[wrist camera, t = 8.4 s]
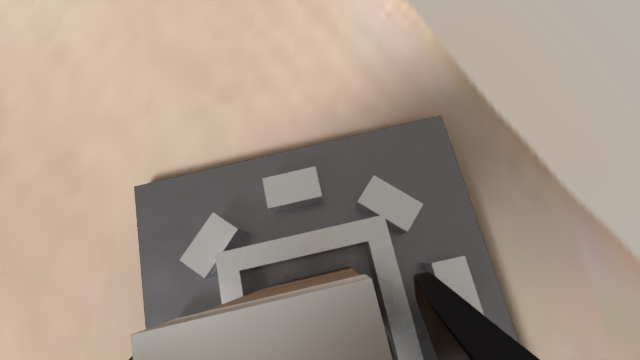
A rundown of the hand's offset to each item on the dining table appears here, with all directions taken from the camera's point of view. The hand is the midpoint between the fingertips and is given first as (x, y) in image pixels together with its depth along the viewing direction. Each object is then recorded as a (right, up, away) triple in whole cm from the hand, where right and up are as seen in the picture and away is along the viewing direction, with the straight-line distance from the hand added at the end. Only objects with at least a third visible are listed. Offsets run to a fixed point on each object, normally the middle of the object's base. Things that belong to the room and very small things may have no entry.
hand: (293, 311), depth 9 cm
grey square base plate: (+1, -3, +8) cm, 9 cm away
